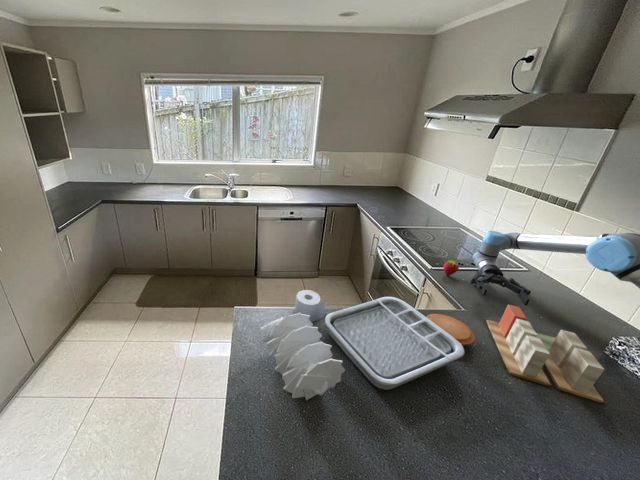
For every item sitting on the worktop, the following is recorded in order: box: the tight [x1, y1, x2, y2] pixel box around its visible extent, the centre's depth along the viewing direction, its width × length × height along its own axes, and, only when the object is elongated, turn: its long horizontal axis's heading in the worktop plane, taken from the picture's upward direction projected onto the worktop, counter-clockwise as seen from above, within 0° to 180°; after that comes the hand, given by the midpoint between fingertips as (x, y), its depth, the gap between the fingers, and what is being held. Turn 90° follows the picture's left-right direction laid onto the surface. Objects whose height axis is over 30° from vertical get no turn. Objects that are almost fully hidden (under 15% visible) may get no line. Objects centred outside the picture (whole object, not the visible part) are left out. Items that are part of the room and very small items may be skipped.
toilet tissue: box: [293, 289, 326, 323], centre depth 112 cm, size 9×13×9 cm
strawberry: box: [443, 259, 459, 277], centre depth 141 cm, size 6×8×10 cm
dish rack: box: [324, 296, 465, 391], centre depth 96 cm, size 32×37×8 cm
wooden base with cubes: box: [485, 319, 552, 387], centre depth 97 cm, size 26×10×11 cm, turn 156°
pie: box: [425, 313, 476, 347], centre depth 104 cm, size 16×16×5 cm
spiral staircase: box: [260, 312, 346, 401], centre depth 85 cm, size 18×18×25 cm
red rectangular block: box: [498, 303, 528, 337], centre depth 104 cm, size 7×4×10 cm, turn 156°
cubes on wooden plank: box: [536, 329, 605, 404], centre depth 93 cm, size 26×10×11 cm, turn 156°
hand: (505, 297), depth 112 cm, fingers open, 13 cm apart
